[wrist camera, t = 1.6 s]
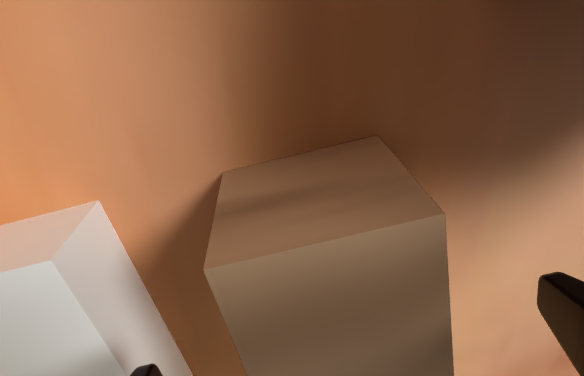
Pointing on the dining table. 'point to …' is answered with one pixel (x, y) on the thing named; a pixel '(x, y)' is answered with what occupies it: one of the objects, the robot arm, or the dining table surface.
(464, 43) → the dining table surface
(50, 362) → the block
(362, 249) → the walnut cube
